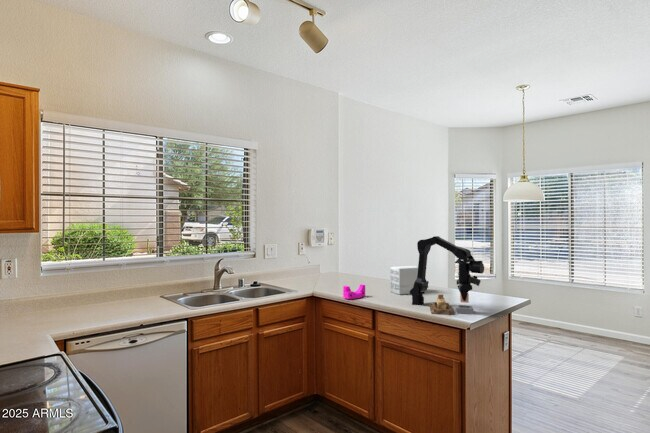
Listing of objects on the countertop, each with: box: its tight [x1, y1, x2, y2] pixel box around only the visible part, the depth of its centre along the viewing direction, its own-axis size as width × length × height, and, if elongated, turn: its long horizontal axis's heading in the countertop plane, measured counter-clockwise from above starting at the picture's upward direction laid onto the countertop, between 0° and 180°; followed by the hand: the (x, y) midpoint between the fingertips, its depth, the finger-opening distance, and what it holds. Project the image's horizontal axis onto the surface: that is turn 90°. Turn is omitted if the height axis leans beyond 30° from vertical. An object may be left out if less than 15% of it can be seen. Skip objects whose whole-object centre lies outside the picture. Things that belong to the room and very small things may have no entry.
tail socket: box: [454, 304, 474, 315], centre depth 216 cm, size 8×8×3 cm
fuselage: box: [436, 293, 447, 310], centre depth 220 cm, size 4×12×7 cm, turn 167°
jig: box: [429, 301, 455, 316], centre depth 220 cm, size 12×20×2 cm, turn 167°
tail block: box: [459, 292, 470, 304], centre depth 216 cm, size 4×4×5 cm
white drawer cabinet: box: [389, 264, 418, 296], centre depth 275 cm, size 17×13×18 cm
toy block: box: [342, 283, 366, 300], centre depth 259 cm, size 15×6×8 cm, turn 118°
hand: (464, 300), depth 216 cm, fingers closed on tail block, 4 cm apart
